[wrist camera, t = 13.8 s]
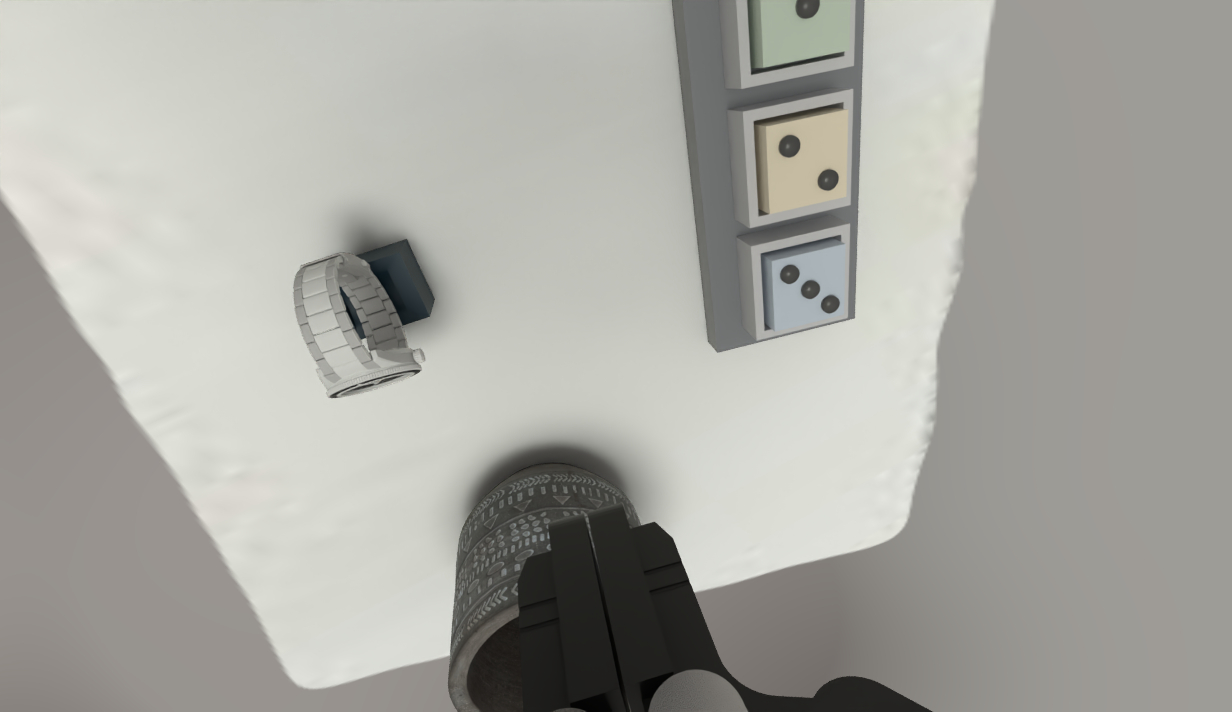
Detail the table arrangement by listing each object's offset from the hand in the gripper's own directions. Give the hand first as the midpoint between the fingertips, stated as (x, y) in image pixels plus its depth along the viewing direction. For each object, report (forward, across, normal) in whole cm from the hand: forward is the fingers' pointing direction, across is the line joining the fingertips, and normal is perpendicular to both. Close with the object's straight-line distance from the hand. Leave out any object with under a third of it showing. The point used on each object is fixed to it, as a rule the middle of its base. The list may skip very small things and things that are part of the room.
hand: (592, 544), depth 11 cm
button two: (+27, -17, -1) cm, 32 cm away
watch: (+29, +10, +2) cm, 31 cm away
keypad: (+29, -17, -1) cm, 34 cm away
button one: (+27, -17, -9) cm, 33 cm away
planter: (+29, +4, +24) cm, 38 cm away
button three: (+27, -17, +7) cm, 33 cm away
